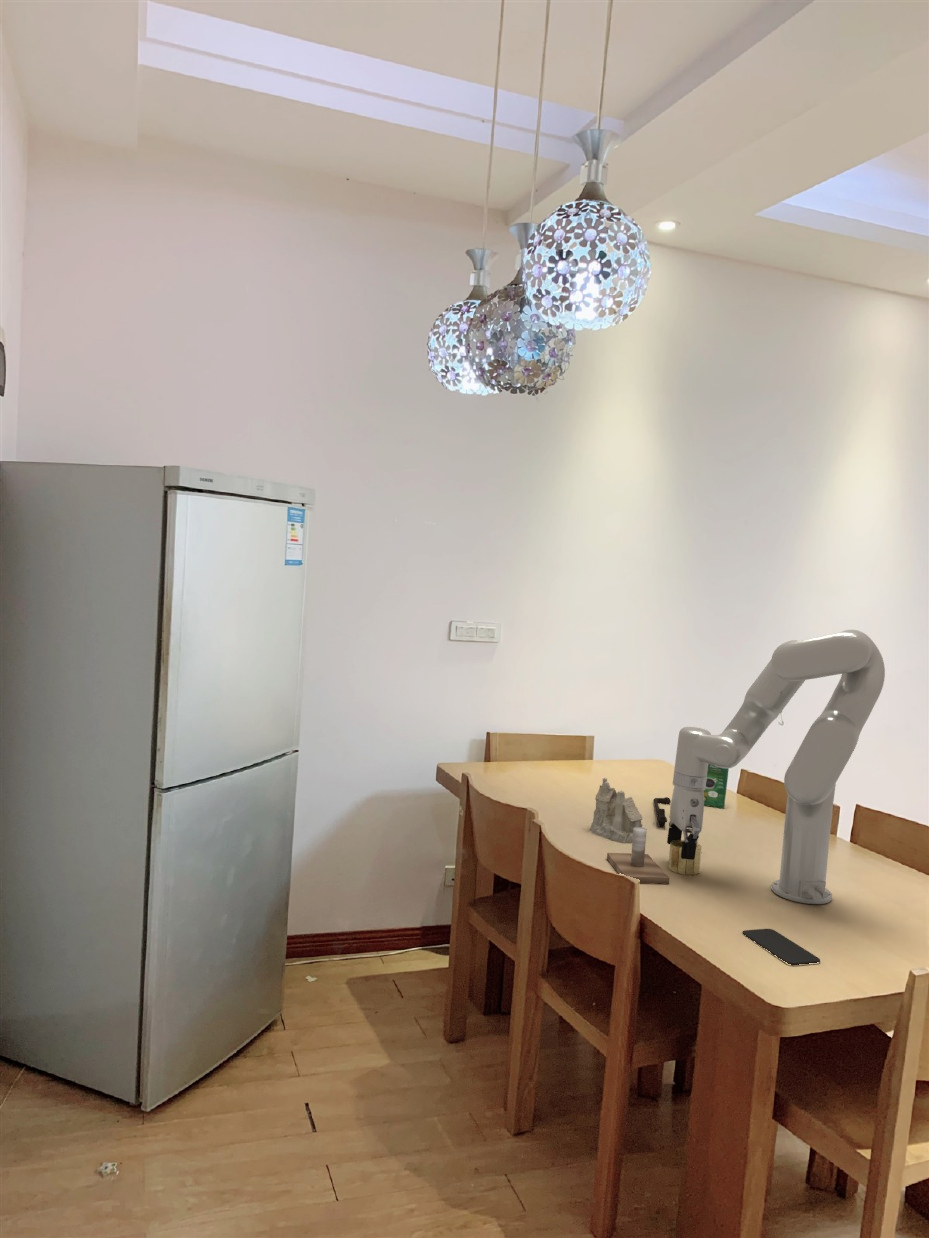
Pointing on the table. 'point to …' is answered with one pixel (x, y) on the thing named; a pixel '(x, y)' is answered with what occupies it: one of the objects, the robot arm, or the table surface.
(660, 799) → the wrench
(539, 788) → the table surface
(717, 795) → the coffee box
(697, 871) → the ring
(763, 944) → the phone
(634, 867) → the post board
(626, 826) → the ceramic cottage
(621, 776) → the table surface
